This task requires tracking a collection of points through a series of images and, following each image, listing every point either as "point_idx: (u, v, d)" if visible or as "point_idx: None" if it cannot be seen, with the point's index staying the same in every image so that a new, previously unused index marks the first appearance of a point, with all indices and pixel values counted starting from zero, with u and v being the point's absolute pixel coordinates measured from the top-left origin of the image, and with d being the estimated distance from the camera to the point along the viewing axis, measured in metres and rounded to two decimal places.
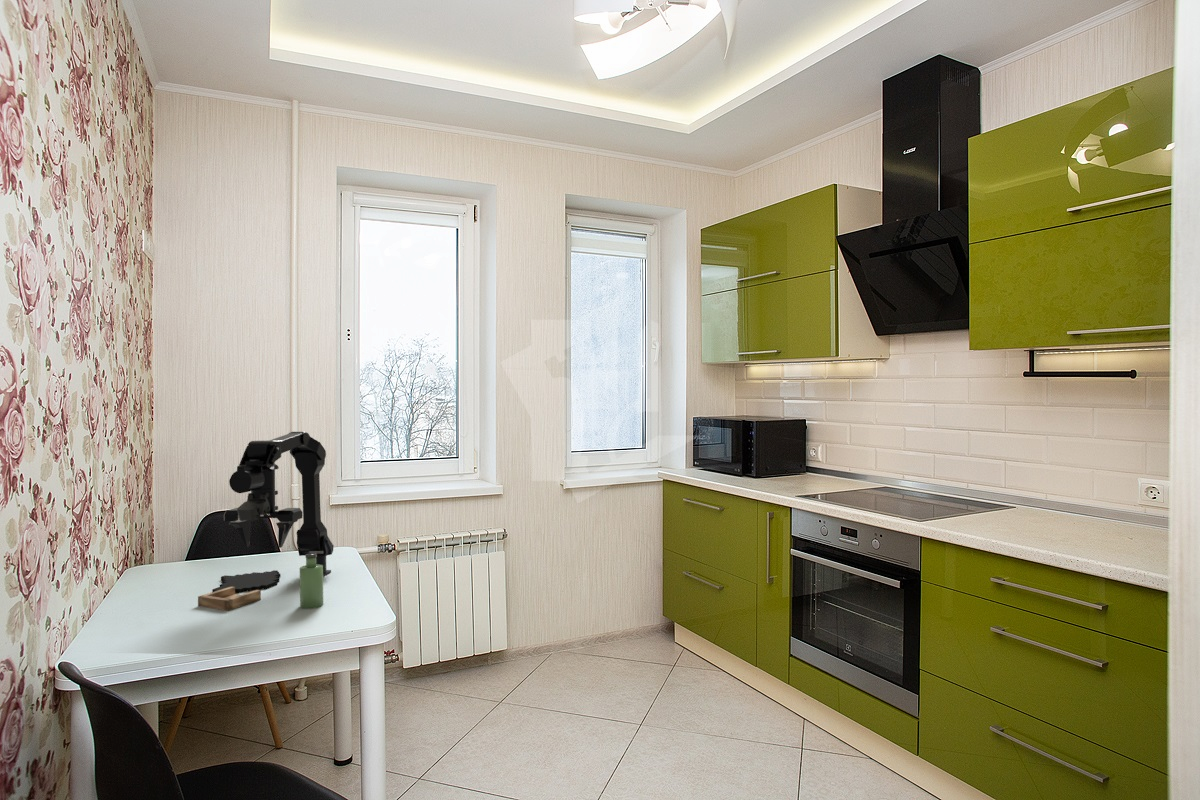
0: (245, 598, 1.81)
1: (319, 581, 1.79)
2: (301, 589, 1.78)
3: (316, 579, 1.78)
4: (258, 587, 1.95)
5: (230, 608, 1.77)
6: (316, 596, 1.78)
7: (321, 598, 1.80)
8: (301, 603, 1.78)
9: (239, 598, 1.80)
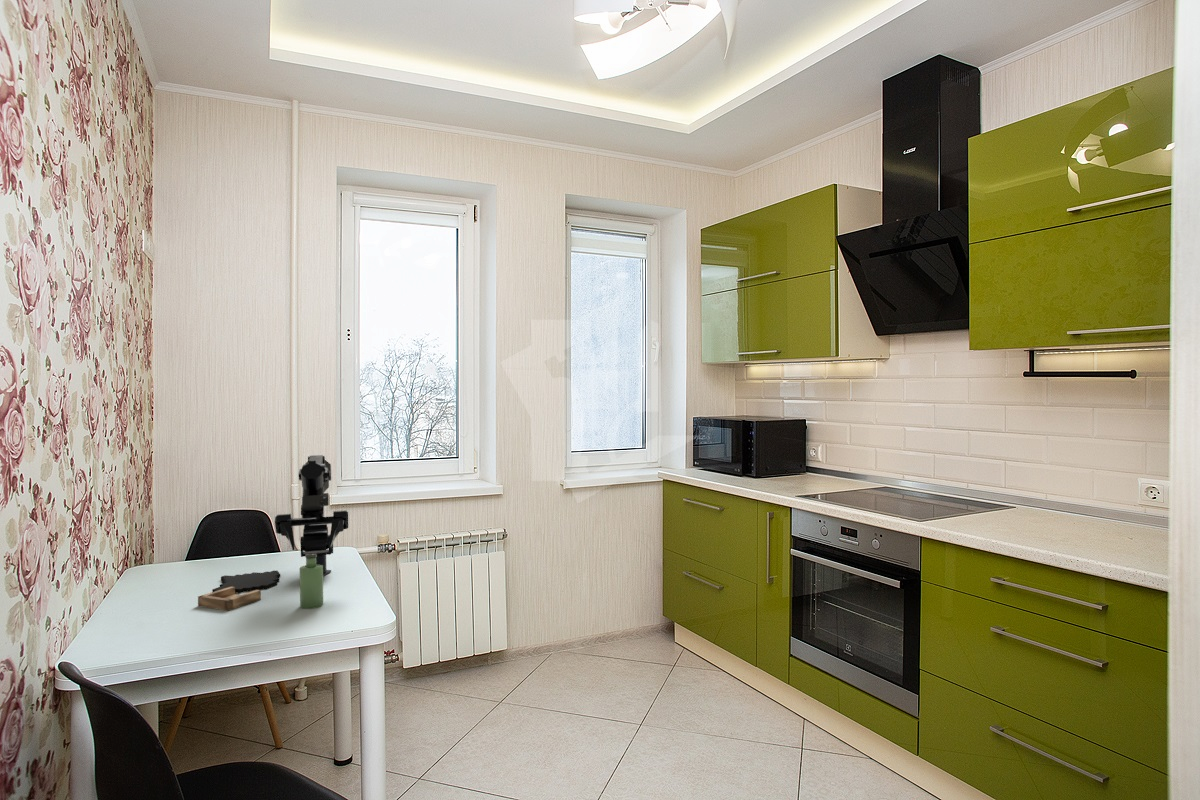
0: (245, 598, 1.81)
1: (319, 581, 1.79)
2: (301, 589, 1.78)
3: (316, 579, 1.78)
4: (258, 587, 1.95)
5: (230, 608, 1.77)
6: (316, 596, 1.78)
7: (321, 598, 1.80)
8: (301, 603, 1.78)
9: (239, 598, 1.80)
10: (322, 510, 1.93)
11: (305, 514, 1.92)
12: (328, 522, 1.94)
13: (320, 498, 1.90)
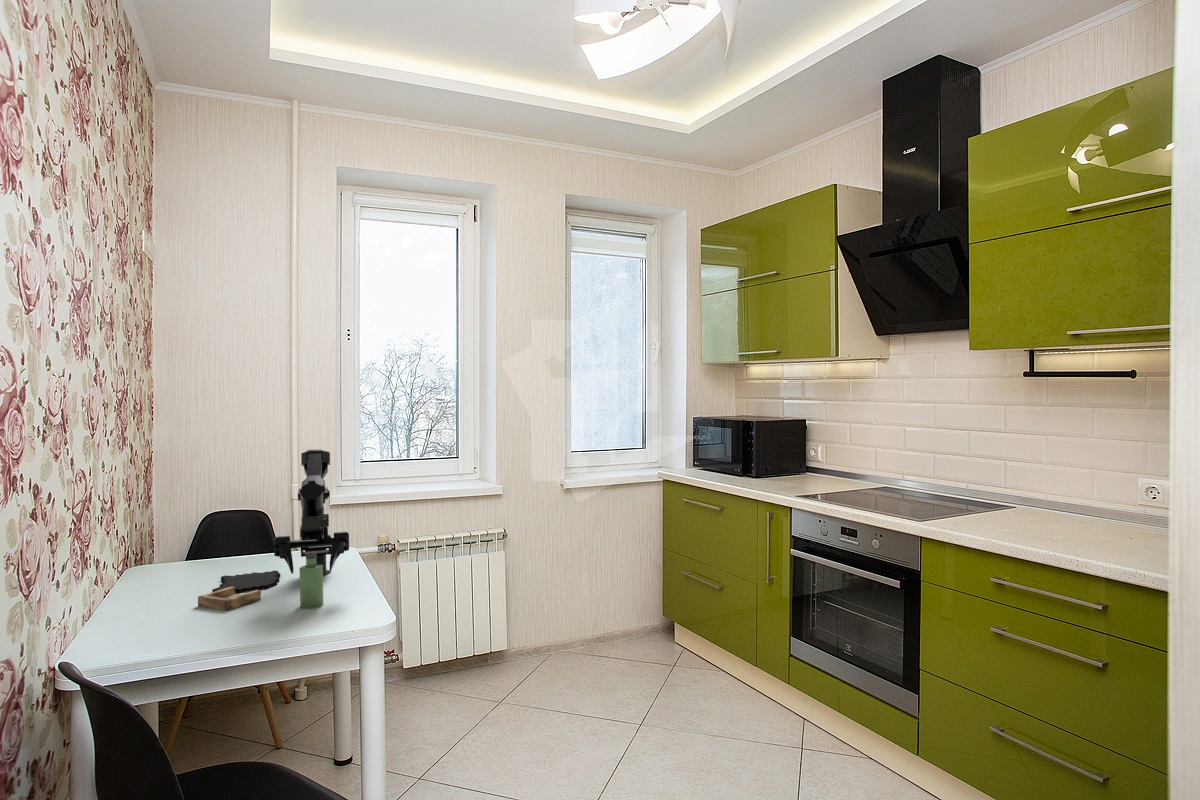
0: (245, 598, 1.81)
1: (319, 581, 1.79)
2: (301, 589, 1.78)
3: (316, 579, 1.78)
4: (258, 587, 1.95)
5: (230, 608, 1.77)
6: (316, 596, 1.78)
7: (321, 598, 1.80)
8: (301, 603, 1.78)
9: (239, 598, 1.80)
10: (322, 531, 1.87)
11: (304, 536, 1.85)
12: (328, 544, 1.88)
13: (320, 519, 1.84)
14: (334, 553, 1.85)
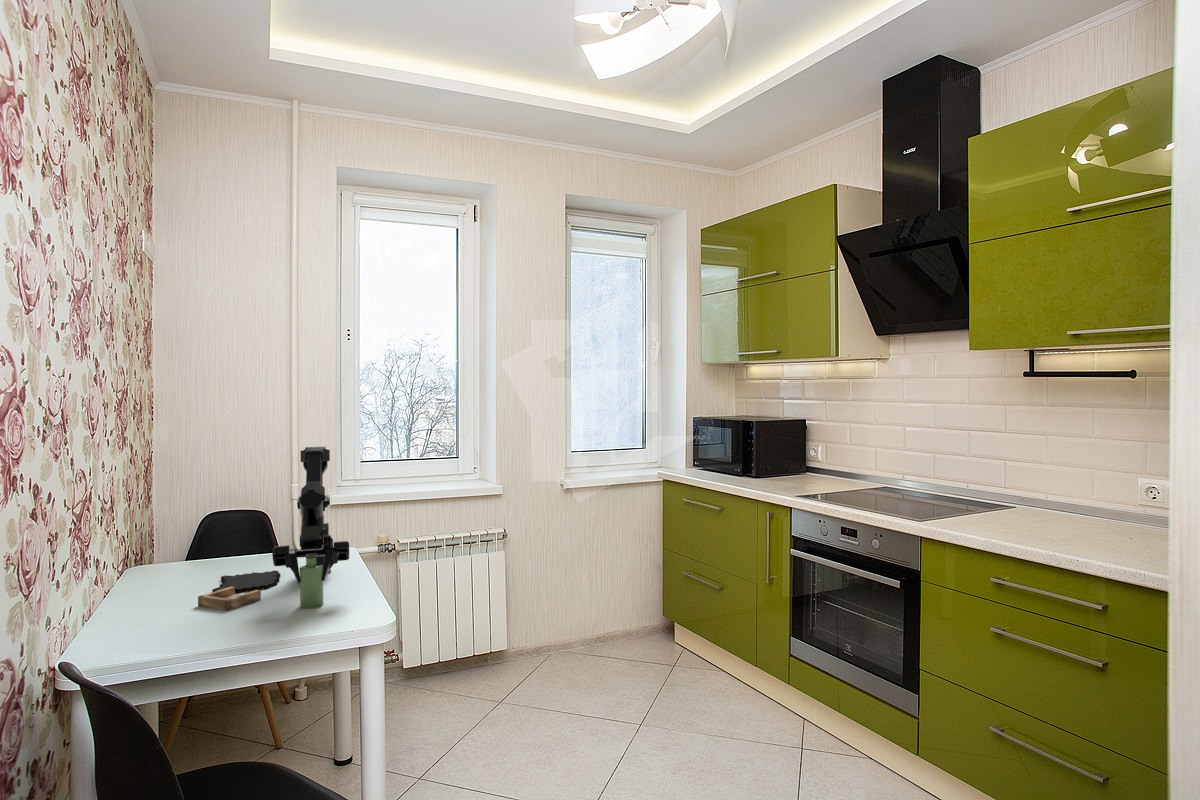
0: (245, 598, 1.81)
1: (319, 581, 1.79)
2: (301, 589, 1.78)
3: (316, 579, 1.78)
4: (258, 587, 1.95)
5: (230, 608, 1.77)
6: (316, 596, 1.78)
7: (321, 598, 1.80)
8: (301, 603, 1.78)
9: (239, 598, 1.80)
10: (322, 541, 1.84)
11: (304, 545, 1.83)
12: None
13: (320, 529, 1.81)
14: (327, 563, 1.82)
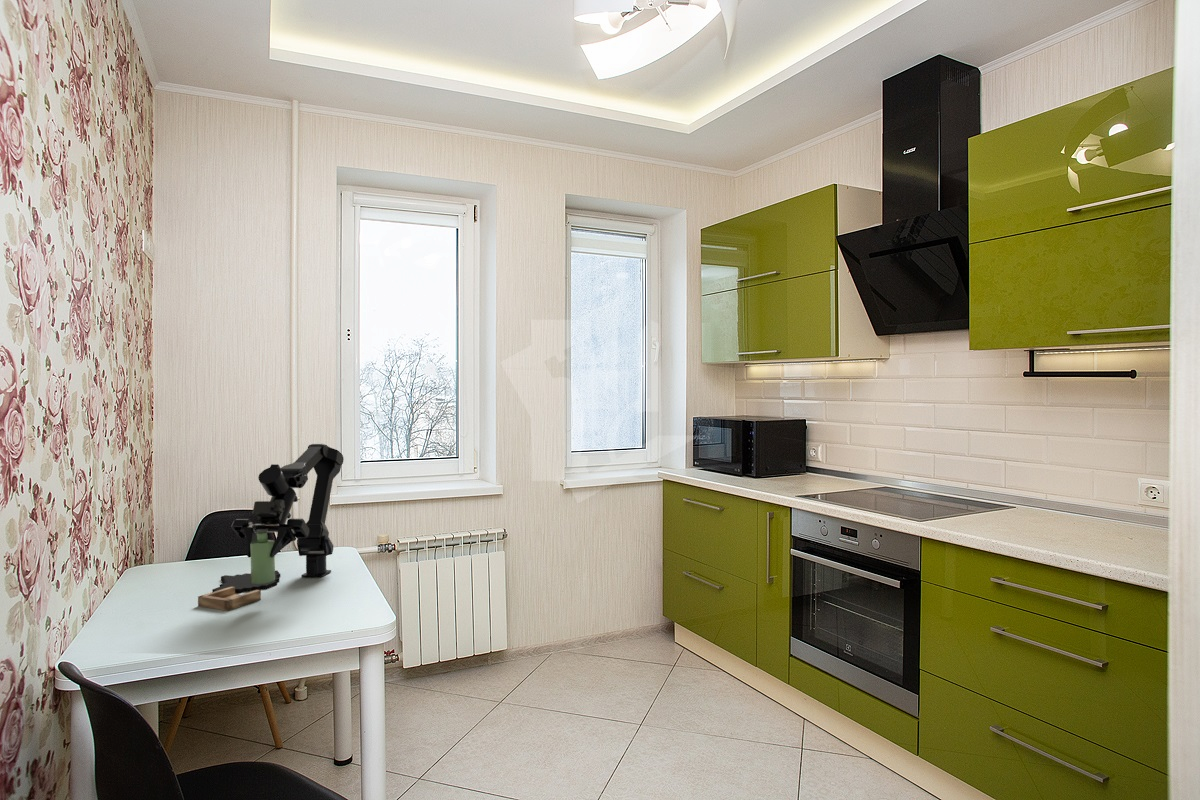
0: (245, 598, 1.81)
1: (266, 557, 1.78)
2: None
3: (262, 555, 1.77)
4: (258, 587, 1.95)
5: (230, 608, 1.77)
6: (262, 571, 1.77)
7: (269, 574, 1.78)
8: (251, 577, 1.78)
9: (239, 598, 1.80)
10: (278, 517, 1.83)
11: (262, 520, 1.83)
12: None
13: (270, 504, 1.80)
14: (278, 540, 1.80)
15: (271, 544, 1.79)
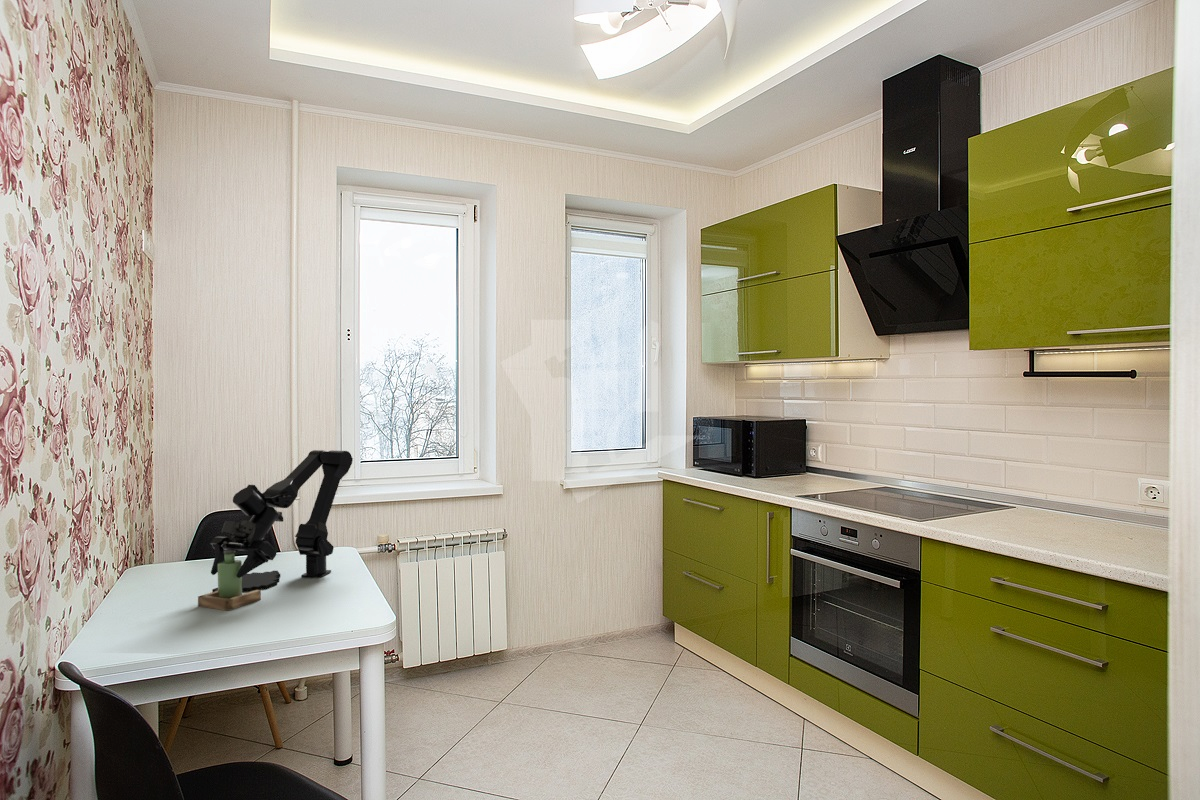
0: (245, 598, 1.81)
1: (229, 578, 1.81)
2: None
3: (225, 575, 1.80)
4: (258, 587, 1.95)
5: (230, 608, 1.77)
6: (225, 592, 1.81)
7: (232, 595, 1.81)
8: None
9: (239, 598, 1.80)
10: (246, 537, 1.85)
11: (236, 539, 1.87)
12: None
13: (235, 525, 1.82)
14: (246, 561, 1.82)
15: (235, 565, 1.82)
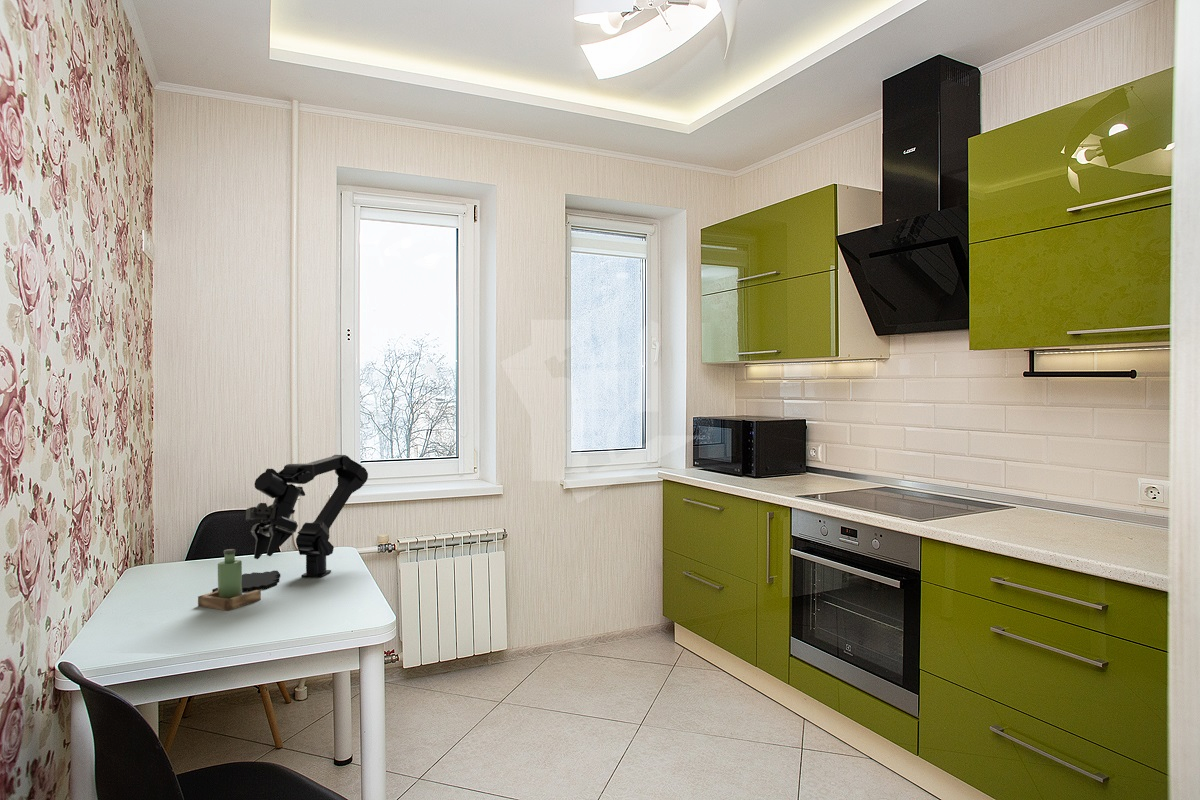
0: (245, 598, 1.81)
1: (229, 578, 1.81)
2: None
3: (225, 575, 1.80)
4: (258, 587, 1.95)
5: (230, 608, 1.77)
6: (225, 592, 1.81)
7: (232, 595, 1.81)
8: None
9: (239, 598, 1.80)
10: (268, 518, 1.93)
11: (265, 522, 1.96)
12: None
13: (252, 510, 1.91)
14: (271, 539, 1.89)
15: (235, 565, 1.82)
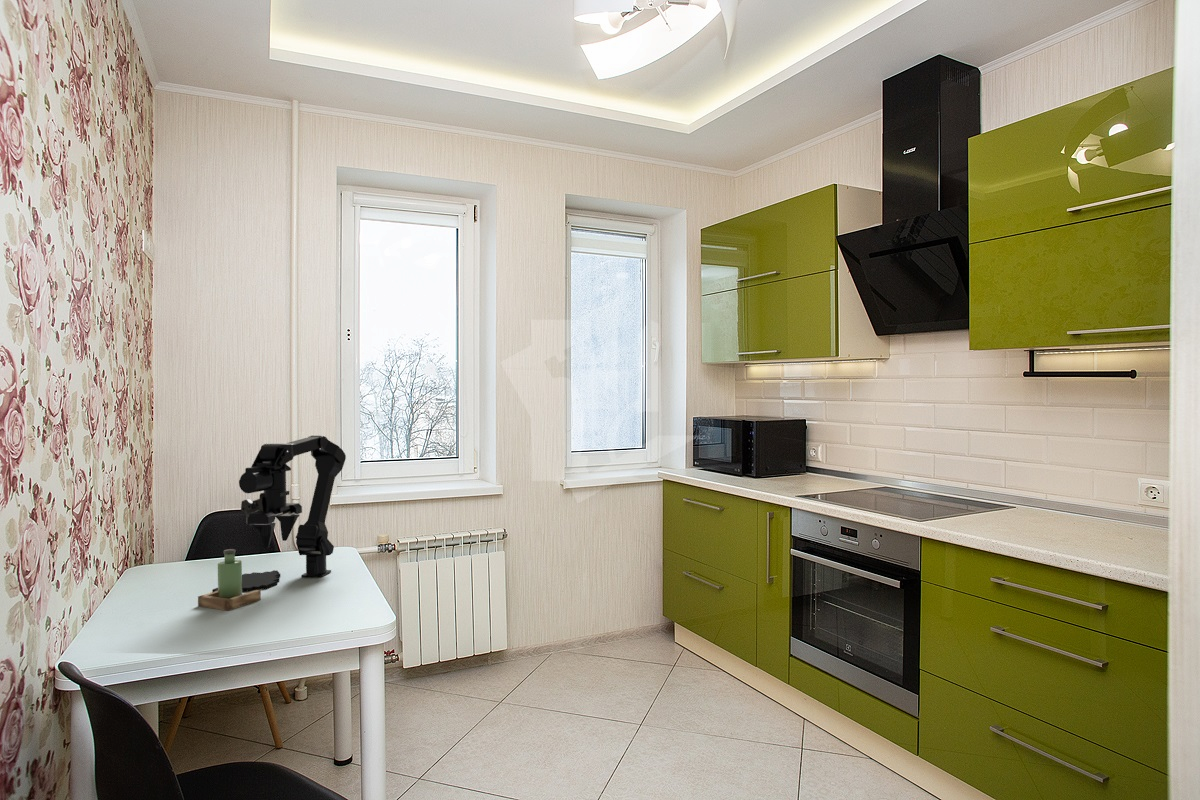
0: (245, 598, 1.81)
1: (229, 578, 1.81)
2: None
3: (225, 575, 1.80)
4: (258, 587, 1.95)
5: (230, 608, 1.77)
6: (225, 592, 1.80)
7: (232, 595, 1.81)
8: None
9: (239, 598, 1.80)
10: None
11: None
12: None
13: None
14: None
15: (235, 565, 1.82)
